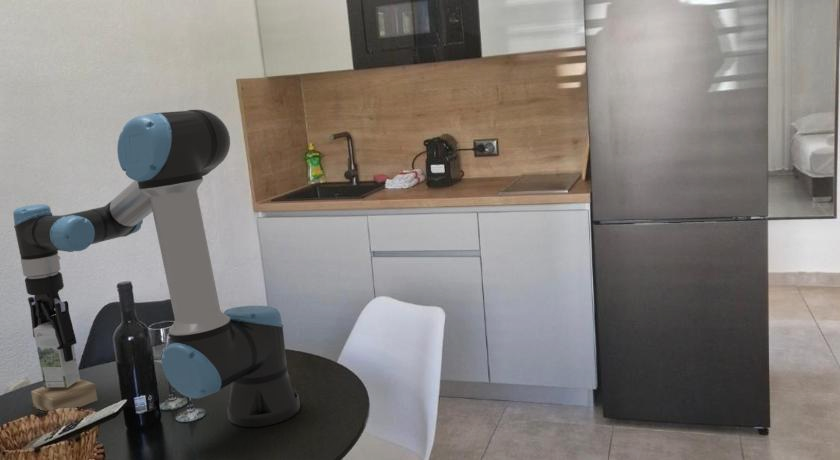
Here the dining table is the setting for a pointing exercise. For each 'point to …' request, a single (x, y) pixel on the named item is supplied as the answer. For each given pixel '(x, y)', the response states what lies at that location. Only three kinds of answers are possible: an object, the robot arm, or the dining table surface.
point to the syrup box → (52, 358)
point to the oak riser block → (64, 396)
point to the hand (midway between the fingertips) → (60, 370)
